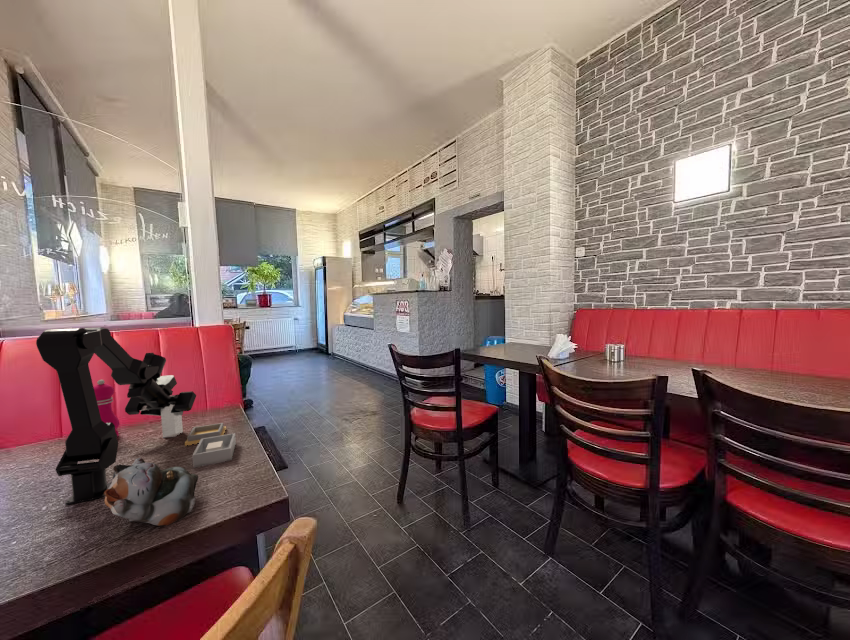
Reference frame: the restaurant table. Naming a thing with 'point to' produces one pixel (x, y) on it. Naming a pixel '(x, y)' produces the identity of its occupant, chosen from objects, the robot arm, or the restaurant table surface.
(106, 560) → the restaurant table surface
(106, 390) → the pepper mill
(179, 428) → the grey rectangular block
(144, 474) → the lucky cat figurine
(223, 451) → the light gray open tray
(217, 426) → the square tray
